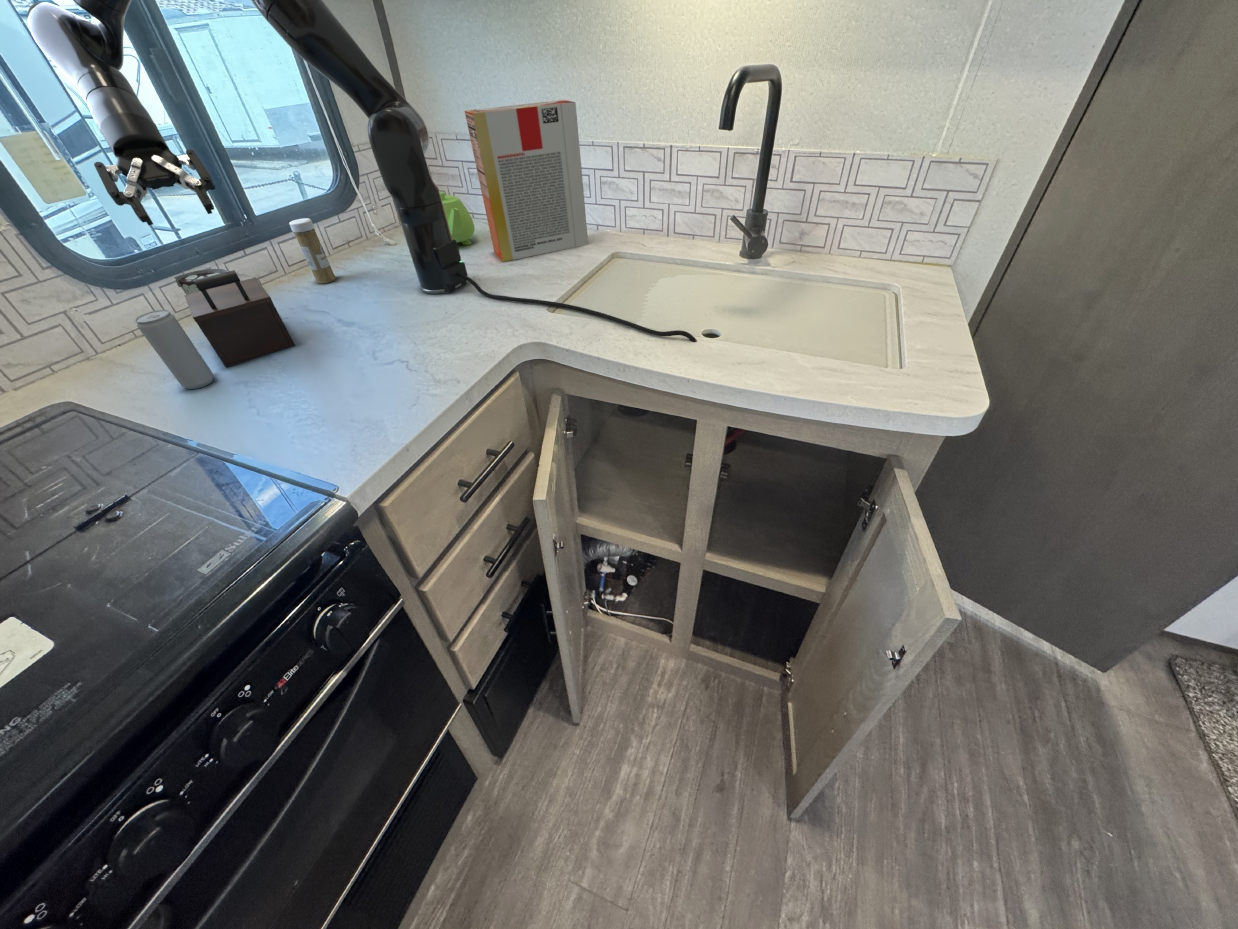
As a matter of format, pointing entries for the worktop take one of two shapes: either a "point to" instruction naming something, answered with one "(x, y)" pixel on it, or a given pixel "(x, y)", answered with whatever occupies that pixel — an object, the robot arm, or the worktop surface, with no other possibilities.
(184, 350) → the beverage can
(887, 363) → the worktop surface
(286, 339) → the chest
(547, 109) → the pasta box
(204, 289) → the lid
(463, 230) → the teapot
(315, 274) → the sprinkles bottle
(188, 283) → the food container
